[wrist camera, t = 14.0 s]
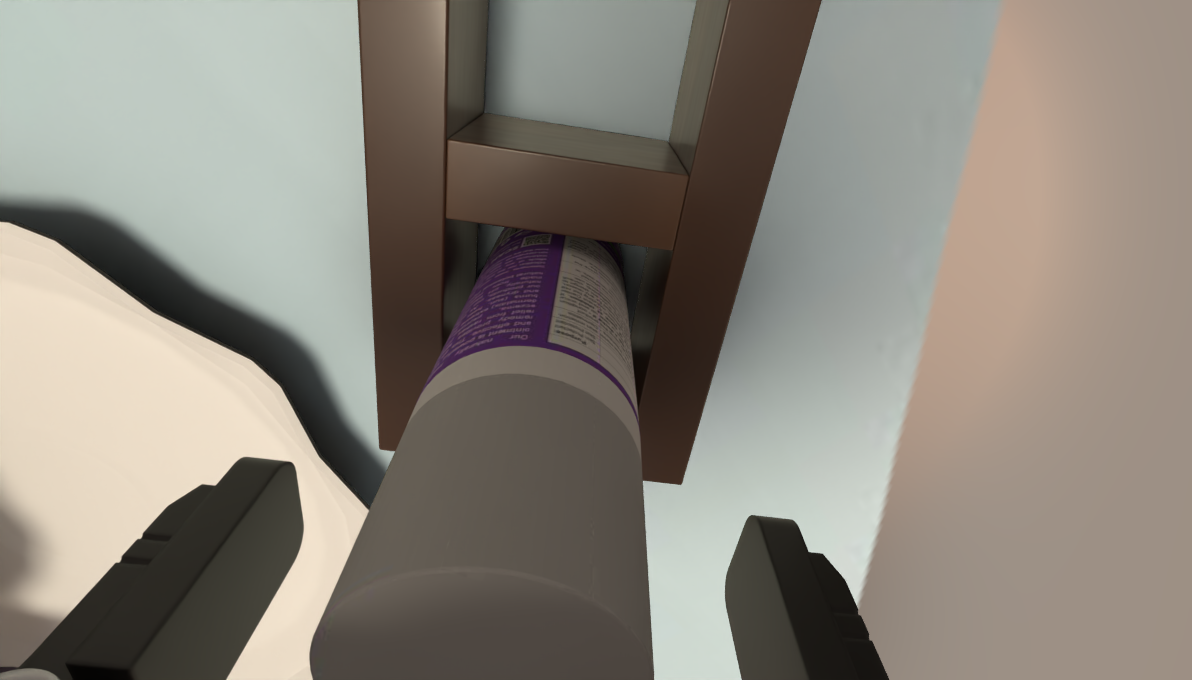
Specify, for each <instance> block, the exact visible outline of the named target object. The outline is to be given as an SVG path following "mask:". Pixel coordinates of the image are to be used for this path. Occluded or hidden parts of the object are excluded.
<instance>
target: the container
mask: <svg viewBox="0 0 1192 680" xmlns="http://www.w3.org/2000/svg"><path fill="white" fill-rule="evenodd" d="M309 661H310V671H311V675H312V678H313V680H654V666H653V649H652V632H651V615H650V598H649V581H648V564H647V547H646V530H645V513H644V496H643V479H642V461H641V438H640V428H639V418H638V408H637V398H636V388H635V378H634V369H633V359H632V349H631V339H630V329H629V319H628V309H627V300H626V290H625V280H624V270H623V261H622V255H621V250H620V247H619V244H618V243H614V242H607V241H600V240H593V239H586V238H579V237H572V236H565V235H558V234H551V233H544V232H537V231H530V230H523V229H516V228H509V227H505V228H504V230H503V231H502V233H501V234H500V236H499V238H498V240H497V242H496V244H495V246H494V248H493V250H492V252H491V254H490V256H489V258H488V260H487V262H486V264H485V266H484V268H483V270H482V272H481V274H480V276H479V278H478V280H477V282H476V284H475V286H474V288H473V290H472V292H471V294H470V296H469V298H468V300H467V302H466V304H465V306H464V308H463V310H462V312H461V314H460V316H459V318H458V320H457V322H456V324H455V326H454V328H453V330H452V332H451V334H450V336H449V338H448V340H447V342H446V344H445V346H444V348H443V350H442V352H441V354H440V356H439V358H438V360H437V362H436V364H435V366H434V368H433V370H432V372H431V374H430V376H429V378H428V380H427V382H426V384H425V386H424V388H423V390H422V392H421V394H420V396H419V398H418V400H417V403H416V405H415V408H414V410H413V412H412V415H411V417H410V419H409V422H408V424H407V426H406V428H405V431H404V433H403V435H402V438H401V440H400V442H399V444H398V447H397V449H396V451H395V453H394V456H393V458H392V460H391V462H390V465H389V467H388V469H387V471H386V474H385V476H384V478H383V480H382V483H381V485H380V487H379V489H378V492H377V494H376V496H375V498H374V501H373V503H372V505H371V507H370V510H369V512H368V514H367V516H366V519H365V521H364V523H363V525H362V528H361V530H360V532H359V534H358V537H357V539H356V541H355V543H354V546H353V548H352V550H351V552H350V555H349V557H348V559H347V561H346V564H345V566H344V568H343V570H342V573H341V575H340V577H339V579H338V581H337V584H336V586H335V588H334V590H333V593H332V595H331V597H330V599H329V602H328V604H327V606H326V608H325V611H324V613H323V615H322V617H321V620H320V622H319V624H318V626H317V629H316V631H315V633H314V635H313V638H312V642H311V646H310V652H309Z"/></svg>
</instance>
